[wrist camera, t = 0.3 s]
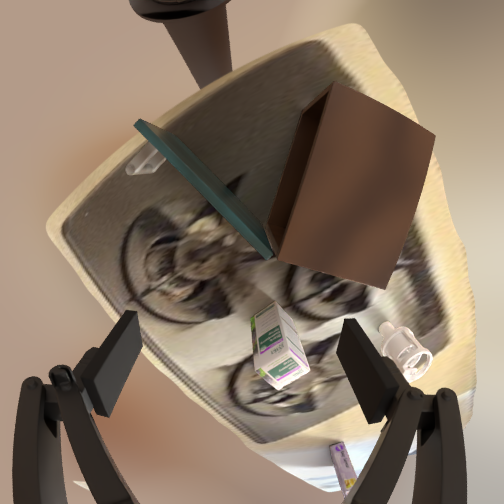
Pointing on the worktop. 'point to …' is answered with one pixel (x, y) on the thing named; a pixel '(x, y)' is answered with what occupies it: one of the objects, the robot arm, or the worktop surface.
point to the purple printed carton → (343, 467)
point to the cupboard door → (197, 181)
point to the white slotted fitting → (403, 350)
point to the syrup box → (277, 347)
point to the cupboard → (349, 187)
